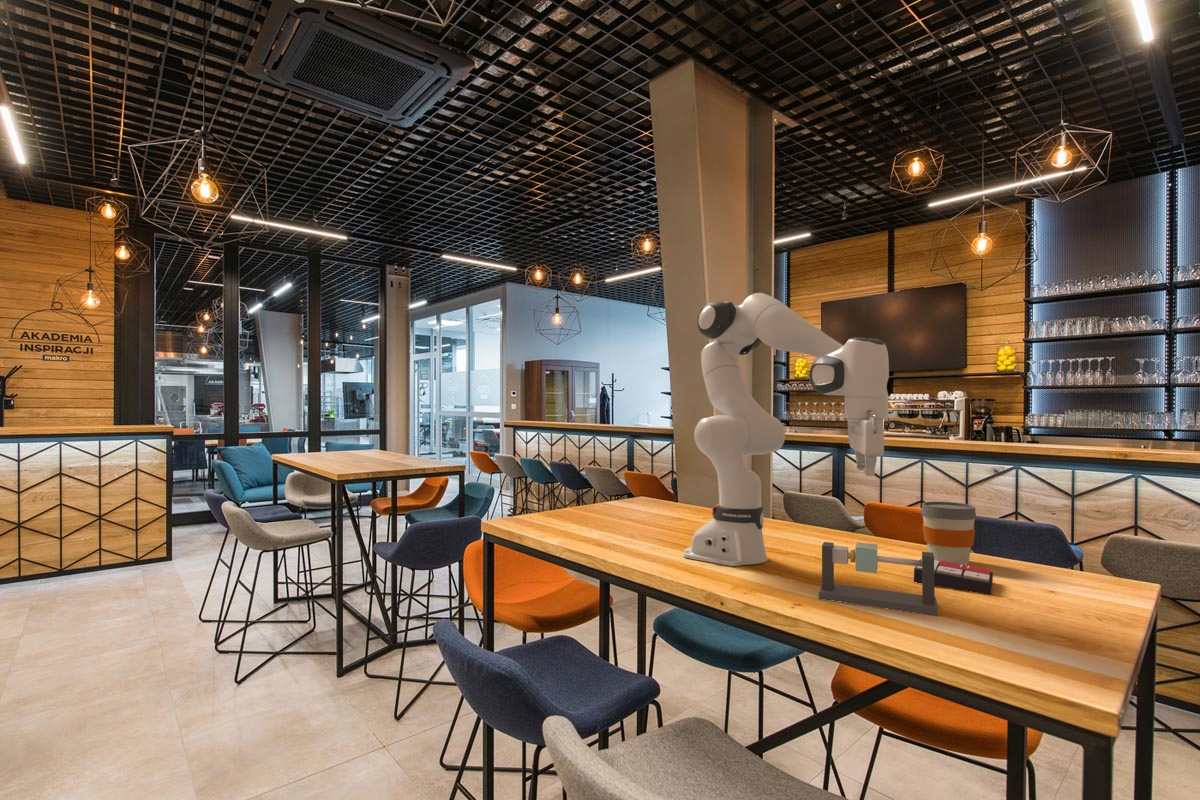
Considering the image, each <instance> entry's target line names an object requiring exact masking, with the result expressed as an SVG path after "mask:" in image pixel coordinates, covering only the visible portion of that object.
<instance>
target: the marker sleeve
mask: <svg viewBox="0 0 1200 800" xmlns="http://www.w3.org/2000/svg"><path fill="white" fill-rule="evenodd" d="M854 550H855V553H856V559H855V572H861V573H869V574H878V569H879V568H878V562H877V556H878V544H877V543H869V542H868V543H867V542H858V541H857V542H856V545H855V549H854Z"/></svg>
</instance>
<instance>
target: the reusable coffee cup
mask: <svg viewBox="0 0 1200 800" xmlns="http://www.w3.org/2000/svg"><path fill="white" fill-rule="evenodd" d="M920 513H921V515H922V520H923V523H922V524H921V525H922V531H923V538H924V541H925V542H926V545H927V552H932V553H933V554H934V560H936V561H939V562H941V561H946V562H951V563H957V564H963V565H966V564H968V565H969V564H970V557H971V550H972V549H971V548H972V547H973V546H974V543H975V542H974V541H975V533H976V528H975V520H976V519H977V515H976V514H977V513H976V507H975V505H971V504H968V503H961V502H953V501H952V502H950V501H925V502H922V503H921V511H920Z"/></svg>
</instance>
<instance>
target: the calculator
mask: <svg viewBox="0 0 1200 800" xmlns="http://www.w3.org/2000/svg"><path fill="white" fill-rule="evenodd" d="M919 560H922V558H920V559H919ZM993 580H994V572H993V571H991V569H989V568H985V567H979V566H973V565H969V564H968V565H963V564H957V563H951V562H946V561H941V562H939V561H936V560H934V585H937V587H941V586H942V587H941V588H946V587H948V588H947V589H951V588H953V589H952V590H957V589H959V590H958V591H963V590H965V591H964V592H969V591H972V592H971V593H976V592H977V593H978V594H982V593H983V594H982V595H988V596H989V595H992V590H993V583H994V581H993ZM914 582H917V583H916V584H918V583H922V566H914V569H913V583H914ZM977 593H976V594H977Z"/></svg>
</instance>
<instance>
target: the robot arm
mask: <svg viewBox="0 0 1200 800" xmlns="http://www.w3.org/2000/svg"><path fill="white" fill-rule="evenodd" d="M696 324H697V329H698V331H699V332H700V333H701V335H703V336H705V337H706V338H708V339H710V340H712V342H709V343H708V344H706V345H705V346H704V347H703V348H702V351H701V352H700V357H701V358H700V363H701V364H700V365H701V373H702V376H703V381H704V384H705V385H704V386H705V389H706V393H707V396H708V399H709V400H708V401H709V403H710V404H711V405H712V407H713V408H715V409H716V410H718V411H720V412H722V413H723V414H719V415H718V414H716V415H712V416H708V417H703V418H701V419H700V420H699V421H698V422H697V424H696V426H695V428H694V433H693V434H694V435H693V437H694V438H693V439H694V442H695V445H696V447H697V448H698V450H699V451H700V452H701V453H703V454H704V455H705V456H706V457H707V458H708V459H709V460H710V461H711V463H712V465H713V467H714V468H715V472H716V475H717V479H718V490H719V503H717V504H715V505H714V507H713V508H712V509H711V514H712V517H713V518H712V519H710V520H708V521H707V522H706V523H705V524H703V525H702V526H700V527H699V528H698V529H696V531H695V532H694V534H693V536H692V538H691V539H692V540H691V545H690V546H687V547H686V548H685V549H684V550H683V552H682V553H683V554H682V555H683V557H684V558H687V559H691V560H696V561H702V562H707V563H708V562H709V563H712V564H718V565H724V566H729V567H739V566H744V565H745V566H746V565H758V564H764V563H765V562H768V560H769V558H768V555H767V551H766V547H765V542H764V535H763V528H764V527H763V526H764V508H763V506H762V481H761V478H760V476H759V475H758V474H757V473H756V472H755V471H753V470H751V469H749V468H747V466H746V464H745V463H744V459H743V458H744V457H743V456H751V455H752V456H754V455H767V454H771V453H775V452H777V451H779V450H780V449H782V447H783V445H784V443H785V438H786V430H785V427H784V425H783V423H782V422H781V420H780V419H779V418H777V417H775V416H773V415H772V414H770V413H769V412H767V411H766V410H764V408H763V407H762V406H760V405H759V404H758V402H757V401H756V400H755V398H754V397H753V396H752V394H751V392H750V390H749V388H748V386H747V383H746V380H745V375H744V373H743V370H742V366H741V364H740V361H739V355H742V356H744V355H748V354H749V353H750V352H751V351H752V350H755V349H756V348H757V347H759V345H760V344H761V343H763V344H765V345H767V346H768V347H770V348H773V349H775V350H776V351H777V350H778V351H783V352H789V353H791V352H792V353H797V354H805V355H808V356H812V357H815V358H816V359H815V360H814V361H813V362H812V363H811V365H810V369H809V373H808V374H809V382H810V385H811V387H812V388H813V389H814V391H816V392H817V393H818V394H821V395H822V394H823V395H827V396H843V397H844V403H843V404H844V406H843V407H844V412H843V414H844V416H843V417H844V418H846V419H847V432H848V433H847V434H848V435H847V436H848V443H849V447H850V448H851V449H853V450H854V456H855V461H856V462H855V463H856V469H857V470H858V471H864V472H863V473H864V475H865V476H866V477H874V476H875V475H876V473H875V472H876V471H875V469H876V465H877V459H878V457H883V456H884V452H885V435H884V433H885V432H884V424H883V423H884V422H883V421H882V420H886V419H887V420H888V419H889V393H888V389H887V388H888V387H887V386H888V382H889V377H890V369H889V368H890V365H889V364H890V363H889V359H890V358H889V353H888V352H889V351H888V348H887V345H886V343H885V342H884V341H883V340H880V339H878V338H870V337H851V338H849V339H848V340H847V341H846V343H843V342H841V341H839V340H838V339H836V338H834V337H833V336H832V335H830V334H828V333H827V332H825V331H823V330H821V329H820V328H818V327H816V326H815V325H814V324H812V323H811V322H809V321H808V320H806V319H805V318H803V317H802V316H800V315H799V314H798V313H797V312H795V311H793V309H791V308H790V307H788V306H787V305H786V304H785V303H783V302H782V301H780V300H779V299H777V298H774V296H771V295H769V294H766V293H764V292H756V293H752V294H750V295H749V296H747V297H746V298H745V299H744V300H743V301H742V302H741V304H739V305H734V303H733V302H732V301H711V302H708V303H707V304H705V305H704V306H703V307H702V309H701V310H700V311H699V314H698V315H697V321H696Z"/></svg>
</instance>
